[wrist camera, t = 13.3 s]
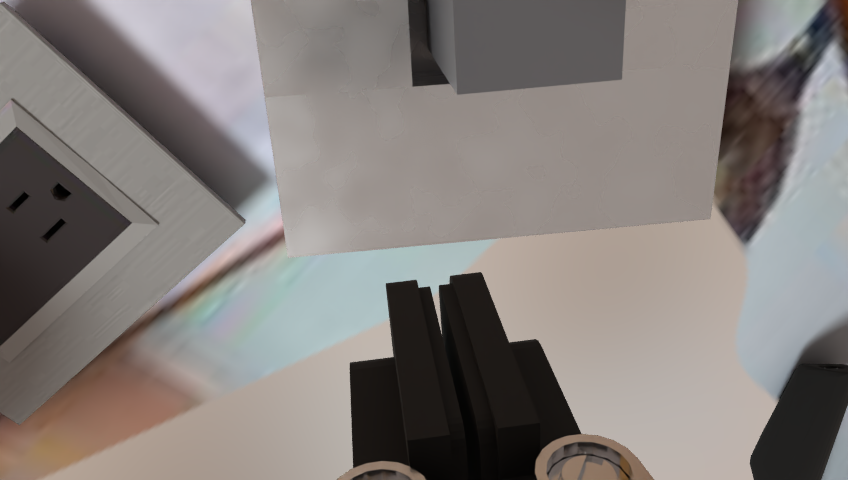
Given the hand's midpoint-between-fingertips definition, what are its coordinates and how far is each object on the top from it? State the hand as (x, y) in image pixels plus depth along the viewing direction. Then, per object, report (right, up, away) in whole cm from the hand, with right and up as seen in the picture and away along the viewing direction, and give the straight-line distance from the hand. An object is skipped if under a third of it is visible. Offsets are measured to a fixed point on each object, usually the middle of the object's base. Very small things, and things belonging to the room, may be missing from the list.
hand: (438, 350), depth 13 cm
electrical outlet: (-16, +3, +16) cm, 22 cm away
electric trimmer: (+18, -10, +26) cm, 33 cm away
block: (+2, +11, +13) cm, 17 cm away
